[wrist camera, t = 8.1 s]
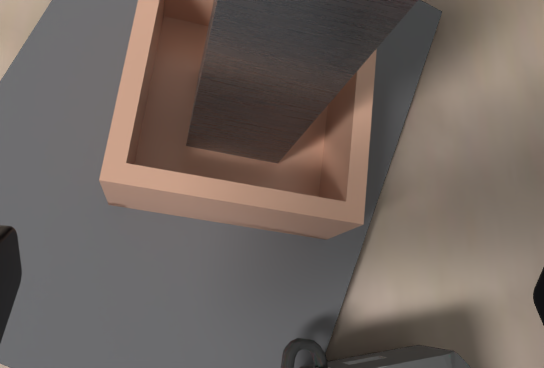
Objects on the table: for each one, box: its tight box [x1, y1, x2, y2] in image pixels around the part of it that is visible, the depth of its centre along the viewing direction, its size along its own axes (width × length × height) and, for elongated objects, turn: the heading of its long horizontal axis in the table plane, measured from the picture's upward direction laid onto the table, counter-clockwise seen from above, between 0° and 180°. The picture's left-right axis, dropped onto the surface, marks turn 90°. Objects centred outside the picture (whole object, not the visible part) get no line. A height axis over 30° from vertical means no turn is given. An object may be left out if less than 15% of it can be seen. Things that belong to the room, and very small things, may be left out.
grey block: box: [186, 0, 418, 163], centre depth 15 cm, size 3×4×14 cm
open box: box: [99, 0, 377, 240], centre depth 20 cm, size 9×9×4 cm
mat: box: [0, 0, 442, 368], centre depth 22 cm, size 22×16×1 cm
